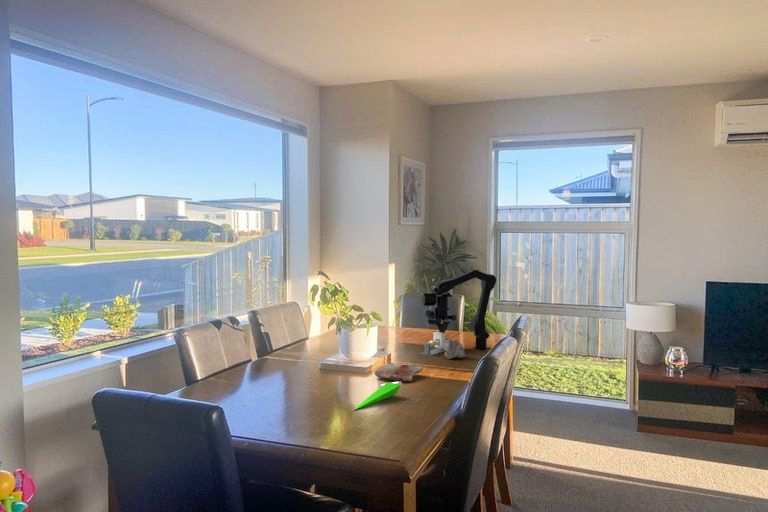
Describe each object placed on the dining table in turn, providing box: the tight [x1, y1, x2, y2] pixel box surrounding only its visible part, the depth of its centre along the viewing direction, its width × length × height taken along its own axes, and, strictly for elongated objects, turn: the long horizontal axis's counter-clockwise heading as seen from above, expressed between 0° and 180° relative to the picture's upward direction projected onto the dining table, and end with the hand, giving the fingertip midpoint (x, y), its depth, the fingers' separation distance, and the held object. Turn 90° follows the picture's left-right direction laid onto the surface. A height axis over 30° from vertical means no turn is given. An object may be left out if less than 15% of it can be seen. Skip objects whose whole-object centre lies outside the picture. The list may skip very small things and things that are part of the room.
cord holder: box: [421, 336, 452, 357], centre depth 288 cm, size 19×6×7 cm, turn 142°
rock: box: [443, 338, 465, 360], centre depth 274 cm, size 9×12×10 cm
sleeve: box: [432, 331, 446, 348], centre depth 289 cm, size 3×5×7 cm, turn 52°
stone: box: [374, 362, 424, 383], centre depth 239 cm, size 20×6×15 cm
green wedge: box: [354, 381, 403, 410], centre depth 207 cm, size 11×5×25 cm
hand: (441, 335), depth 292 cm, fingers closed
